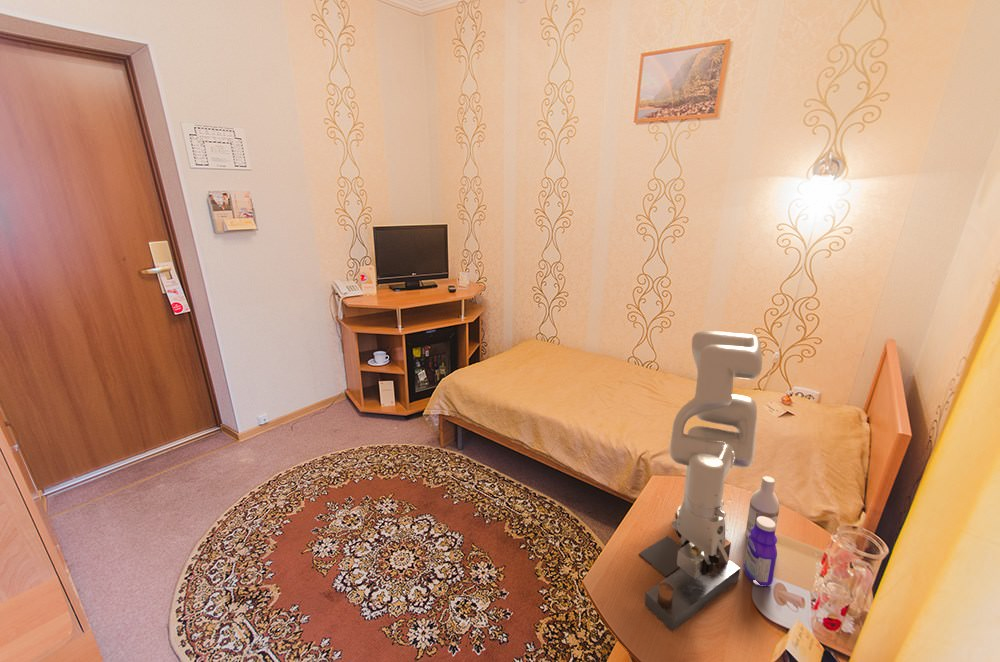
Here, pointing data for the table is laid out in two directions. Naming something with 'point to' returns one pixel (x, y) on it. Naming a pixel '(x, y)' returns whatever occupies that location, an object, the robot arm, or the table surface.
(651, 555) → the rubber mat
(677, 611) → the body
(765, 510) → the bath foam
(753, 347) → the robot arm
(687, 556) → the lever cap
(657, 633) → the table surface
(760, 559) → the bottle
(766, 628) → the table surface
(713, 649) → the table surface
